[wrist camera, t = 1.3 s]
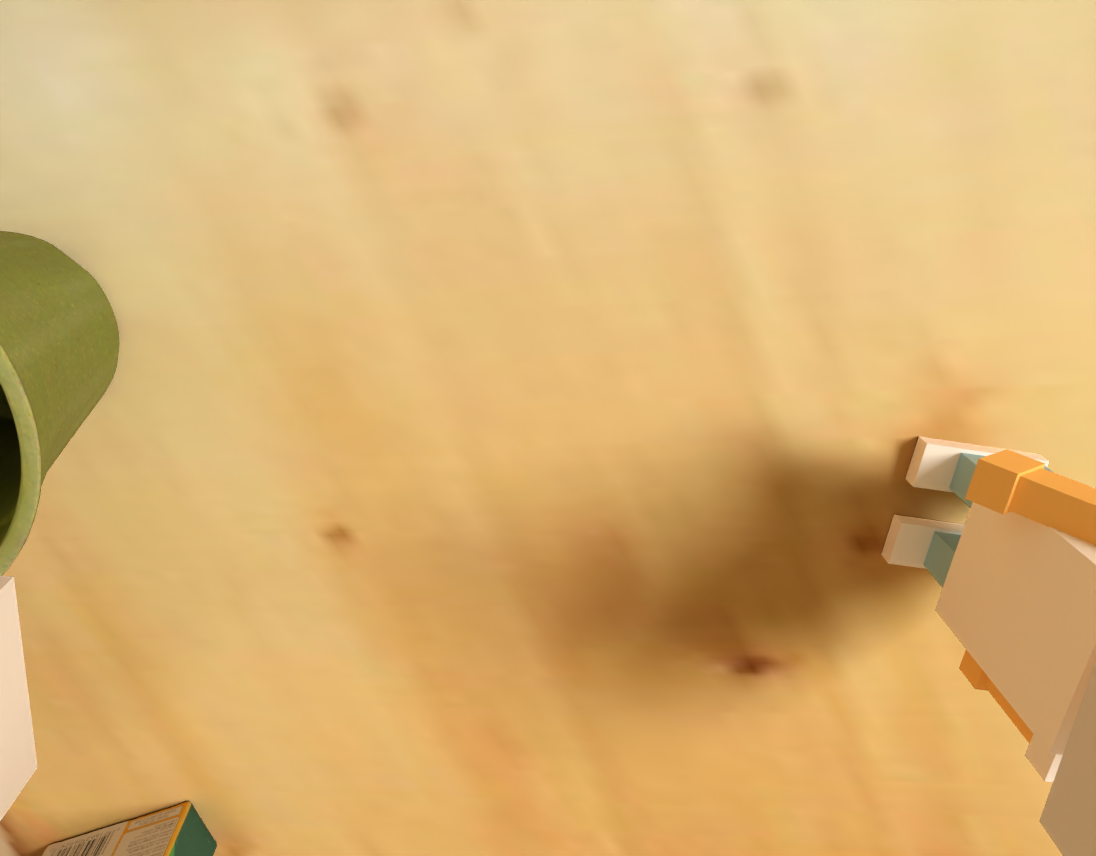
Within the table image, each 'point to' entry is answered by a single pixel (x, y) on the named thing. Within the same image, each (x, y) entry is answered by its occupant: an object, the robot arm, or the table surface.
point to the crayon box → (145, 837)
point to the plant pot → (45, 370)
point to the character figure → (1011, 581)
